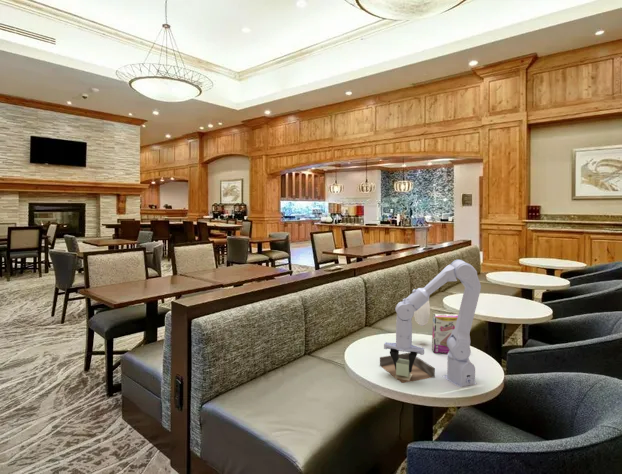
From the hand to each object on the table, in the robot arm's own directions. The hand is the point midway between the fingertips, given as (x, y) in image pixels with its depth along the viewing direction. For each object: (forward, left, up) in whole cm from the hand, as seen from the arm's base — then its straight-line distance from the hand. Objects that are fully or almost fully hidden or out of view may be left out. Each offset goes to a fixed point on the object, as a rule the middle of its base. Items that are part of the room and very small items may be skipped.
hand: (403, 370), depth 142 cm
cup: (+27, -26, -3) cm, 38 cm away
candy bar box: (+16, -31, -3) cm, 35 cm away
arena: (+4, -3, -3) cm, 6 cm away
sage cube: (0, 0, -1) cm, 1 cm away
